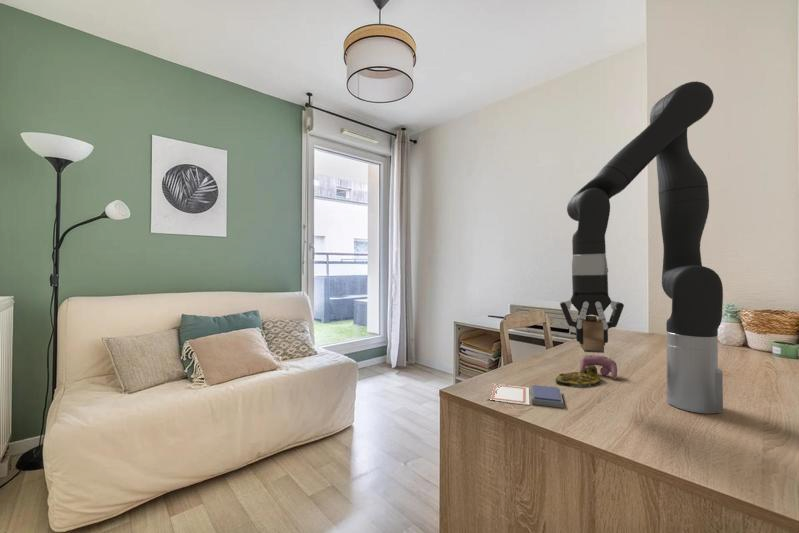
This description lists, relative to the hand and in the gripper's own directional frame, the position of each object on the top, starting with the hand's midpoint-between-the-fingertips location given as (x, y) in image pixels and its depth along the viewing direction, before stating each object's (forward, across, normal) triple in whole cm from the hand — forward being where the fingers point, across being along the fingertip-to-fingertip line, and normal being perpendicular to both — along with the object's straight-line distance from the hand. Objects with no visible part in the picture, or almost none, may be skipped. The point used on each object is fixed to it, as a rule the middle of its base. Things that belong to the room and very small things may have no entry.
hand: (591, 343), depth 82 cm
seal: (+15, +1, -17) cm, 23 cm away
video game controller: (+15, -6, -25) cm, 30 cm away
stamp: (+1, 0, 0) cm, 1 cm away
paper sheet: (+14, +20, 0) cm, 24 cm away
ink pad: (+14, +10, 0) cm, 18 cm away
